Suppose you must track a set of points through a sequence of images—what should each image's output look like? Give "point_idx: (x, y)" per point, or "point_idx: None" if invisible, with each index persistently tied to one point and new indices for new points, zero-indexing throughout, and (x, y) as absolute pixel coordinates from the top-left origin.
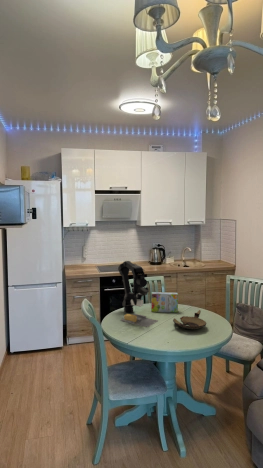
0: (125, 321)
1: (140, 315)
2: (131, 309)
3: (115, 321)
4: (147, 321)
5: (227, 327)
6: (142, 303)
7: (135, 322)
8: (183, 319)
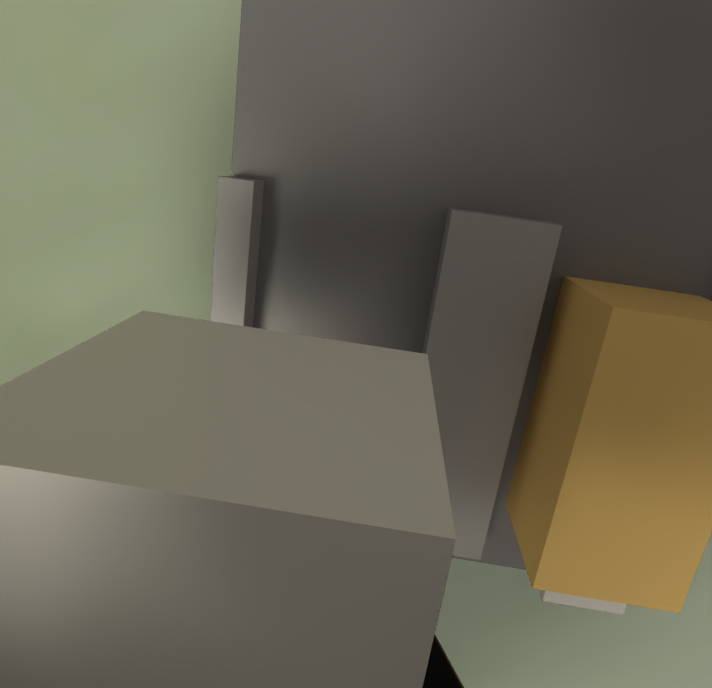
0: None
1: None
2: None
3: (607, 646)
4: (471, 6)
5: None
6: (154, 360)
7: (660, 261)
8: None
